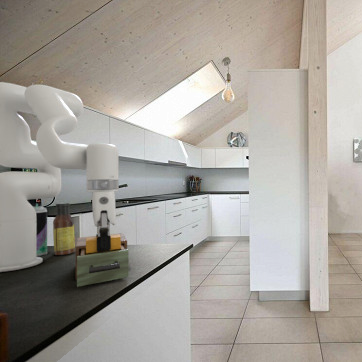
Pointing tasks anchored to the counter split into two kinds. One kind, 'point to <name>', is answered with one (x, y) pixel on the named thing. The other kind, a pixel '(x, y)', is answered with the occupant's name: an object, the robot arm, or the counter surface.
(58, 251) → the sauce bottle
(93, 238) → the orange block
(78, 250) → the cabinet
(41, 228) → the spray can
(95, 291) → the counter surface
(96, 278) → the drawer
